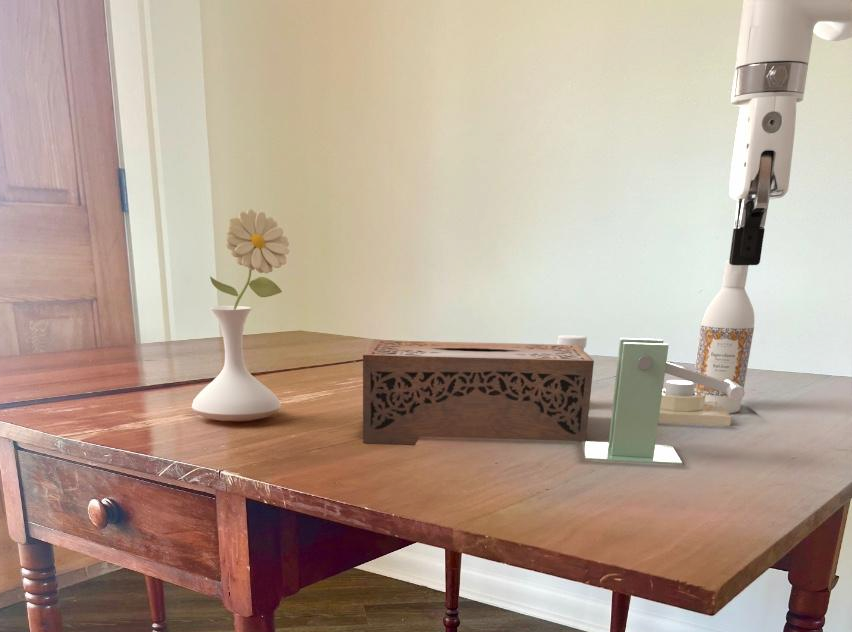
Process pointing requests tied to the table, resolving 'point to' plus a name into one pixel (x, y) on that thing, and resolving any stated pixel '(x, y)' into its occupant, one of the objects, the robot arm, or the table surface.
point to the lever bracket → (636, 407)
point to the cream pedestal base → (692, 410)
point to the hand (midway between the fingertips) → (744, 264)
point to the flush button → (679, 387)
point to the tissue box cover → (475, 391)
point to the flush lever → (707, 381)
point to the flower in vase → (235, 386)
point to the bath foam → (726, 337)
